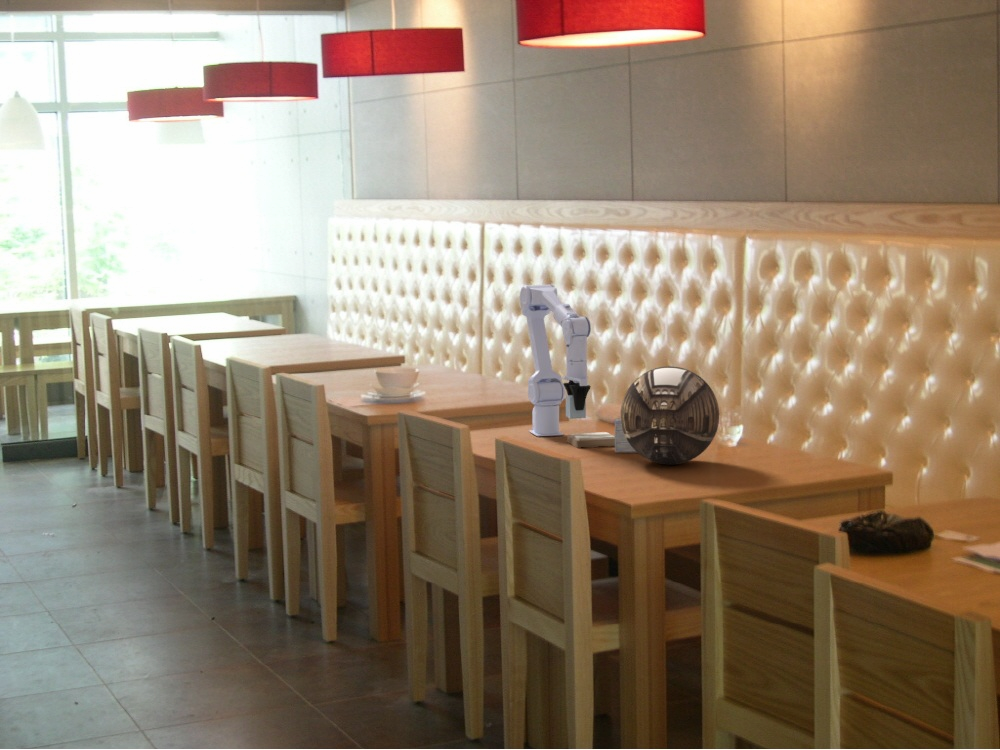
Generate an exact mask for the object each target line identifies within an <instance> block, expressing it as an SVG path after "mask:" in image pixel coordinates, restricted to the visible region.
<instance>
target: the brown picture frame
mask: <svg viewBox="0 0 1000 750" xmlns="http://www.w3.org/2000/svg"><path fill="white" fill-rule="evenodd" d="M567 443H568V444H570V445H571V444H572V445H571V446H573V447H575V448H577V449H582V448H581V447H589V448H599V447H598V446H608V447H615V435H613V434H612V433H609V432H607V431H601V432H582V433H581V432H580V433H571V434H568V435H567Z"/></svg>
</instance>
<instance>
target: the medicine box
mask: <svg viewBox="0 0 1000 750" xmlns="http://www.w3.org/2000/svg"><path fill="white" fill-rule="evenodd" d="M614 436H615V446H614V453H637V452H636V451H635V450H634V449H633V447H632V446H631V445H630V444H629V442H628V441H627V439H626V437H625V435H624V432H623V429H622V425H621V418H615V420H614Z"/></svg>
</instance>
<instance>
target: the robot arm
mask: <svg viewBox="0 0 1000 750" xmlns="http://www.w3.org/2000/svg"><path fill="white" fill-rule="evenodd" d="M519 302H520V303H519V304H520V310H521V314H522V315H523V316H524V317H525V318H526V322H527V323H526V324H527V329H528V336H529V341H530V347H531V354H532V360H533V365H534V367H533V368H534V373H533V374H532V375H531V376H530V377H529V378H528V380H527V396H528V399H529V402H531V404H532V405H533V408H532V412H531V414H532V416H531V417H532V420H531V421H532V429H530V430H529V432H530V433H531V434H533V435H534V436H536V437H553V436H564V433H563V432H561V431H560V405H562V402H563V401H564V399H565V398H566V393H567V395H573V398H574V405H575V409H576V410H583V409H584V405H585V400H587V396H588V394H589V391H590V389H591V385H590V384H589V385H588V379H589V378H588V337H589V336H590V334H591V330H592V328H591V327H592V325H591V322H590V319H589V318H588V316H580V315H579V314H578V313H577V312H576V310H574V309H573V308H572V306H571V305H570V303H563V302H562V301H561V299H560V298H559V297H558V289H557V287H556V286H555V285H554V284H552V283H549V284H533V285H532V284H531V285H527V284H524V285H522V287H521V289H520V291H519ZM551 312H552V314H553V316H552V317H553V319H554V320H555V322H557V323H558V325H559V326H560V327H561V331H562V335H563V339H564V341H563V342H564V344H565V347H566V349H565V351H566V352H565V353H566V354H565V355H566V356H565V357H566V359H565V360H566V370H565V371H566V375H564V376H561V375H560V374H559V373H558V372H557V371H555V370H553V366H552V360H551V354H550V348H549V343H548V337H547V330H546V324H545V317H546V316H547V315H550V313H551ZM563 380H566V381H567V382H563Z"/></svg>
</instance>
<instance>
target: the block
mask: <svg viewBox="0 0 1000 750" xmlns="http://www.w3.org/2000/svg"><path fill="white" fill-rule="evenodd" d="M586 400H587V399H586ZM586 400H585V405H584V409H583V410H576V409H575V405H574V398H573V395H568V394H567V395H566V394H565V417H566V418H568V419H569V420H571V419H572V420H573V419H574V420H576V419H587V414H586V413H587V412H586V410H587V408H586V407H587V405H586Z"/></svg>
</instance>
